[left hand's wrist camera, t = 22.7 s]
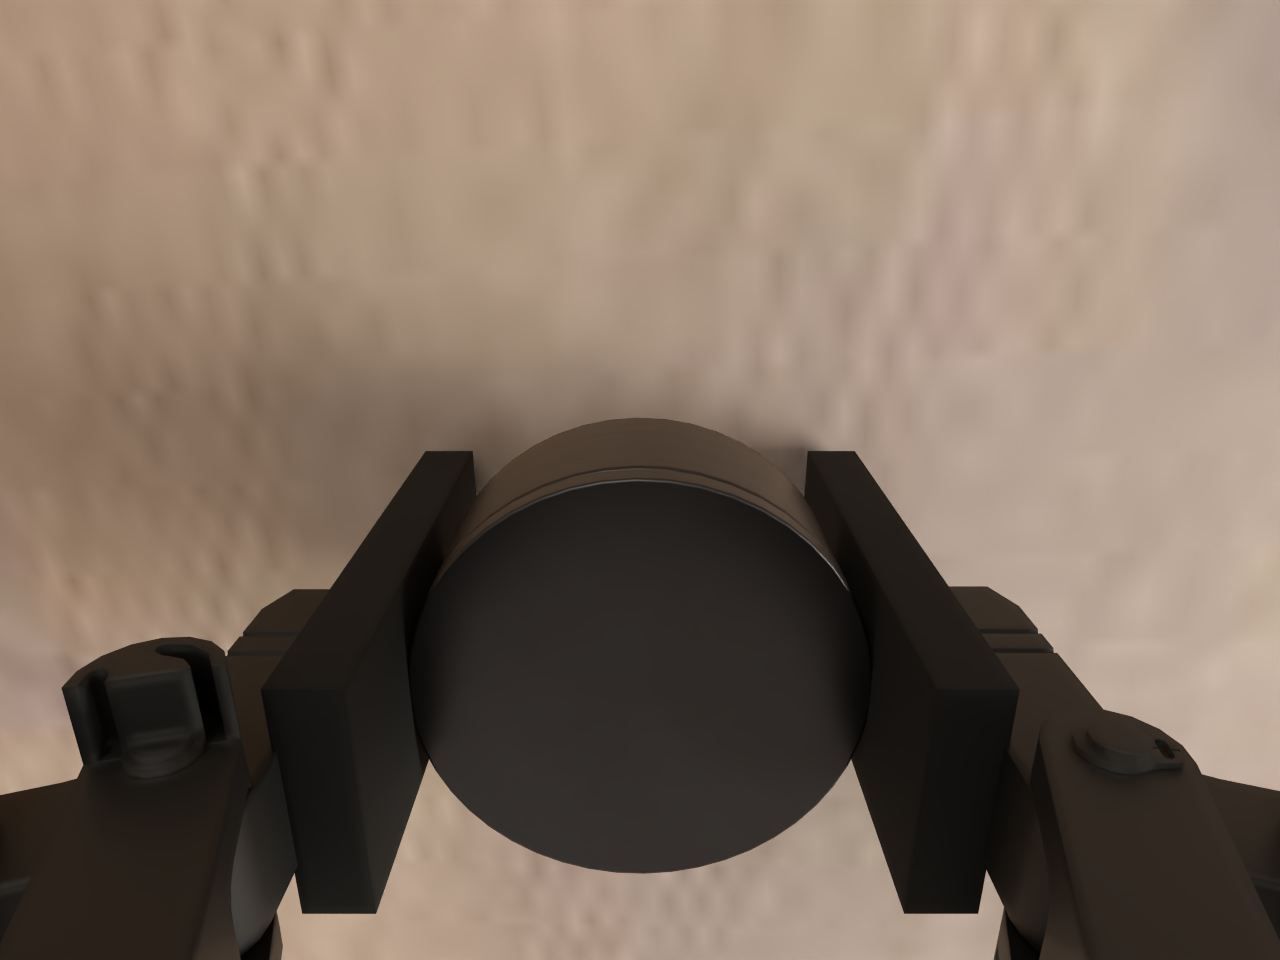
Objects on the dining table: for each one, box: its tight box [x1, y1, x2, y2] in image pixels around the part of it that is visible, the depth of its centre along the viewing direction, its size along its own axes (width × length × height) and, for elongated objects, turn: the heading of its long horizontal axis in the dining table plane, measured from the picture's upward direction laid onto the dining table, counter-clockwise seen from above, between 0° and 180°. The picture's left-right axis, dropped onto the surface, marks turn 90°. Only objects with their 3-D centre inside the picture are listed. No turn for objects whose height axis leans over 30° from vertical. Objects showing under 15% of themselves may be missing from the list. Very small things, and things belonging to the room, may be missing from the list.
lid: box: [408, 418, 873, 873], centre depth 11 cm, size 6×5×2 cm
